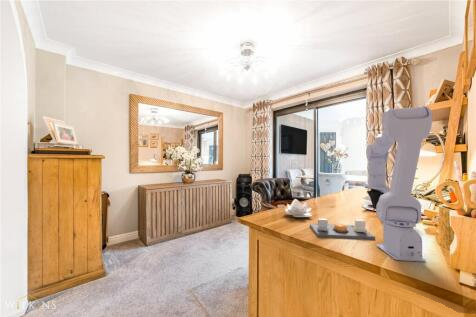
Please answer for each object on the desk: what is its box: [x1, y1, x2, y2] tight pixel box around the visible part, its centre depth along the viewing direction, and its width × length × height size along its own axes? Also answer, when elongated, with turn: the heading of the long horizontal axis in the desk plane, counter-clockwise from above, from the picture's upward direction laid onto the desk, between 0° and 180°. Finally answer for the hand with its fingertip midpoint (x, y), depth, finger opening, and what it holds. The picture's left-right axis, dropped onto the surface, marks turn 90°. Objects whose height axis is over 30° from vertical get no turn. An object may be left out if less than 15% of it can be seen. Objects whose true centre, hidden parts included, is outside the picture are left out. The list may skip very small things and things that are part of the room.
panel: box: [309, 223, 376, 240], centre depth 77 cm, size 12×20×1 cm, turn 83°
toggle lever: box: [354, 219, 368, 232], centre depth 75 cm, size 2×4×4 cm, turn 83°
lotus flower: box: [284, 198, 313, 218], centre depth 100 cm, size 14×15×9 cm
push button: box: [333, 223, 347, 232], centre depth 76 cm, size 4×4×2 cm
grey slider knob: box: [317, 218, 329, 231], centre depth 76 cm, size 2×4×4 cm, turn 83°
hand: (376, 208), depth 78 cm, fingers closed
